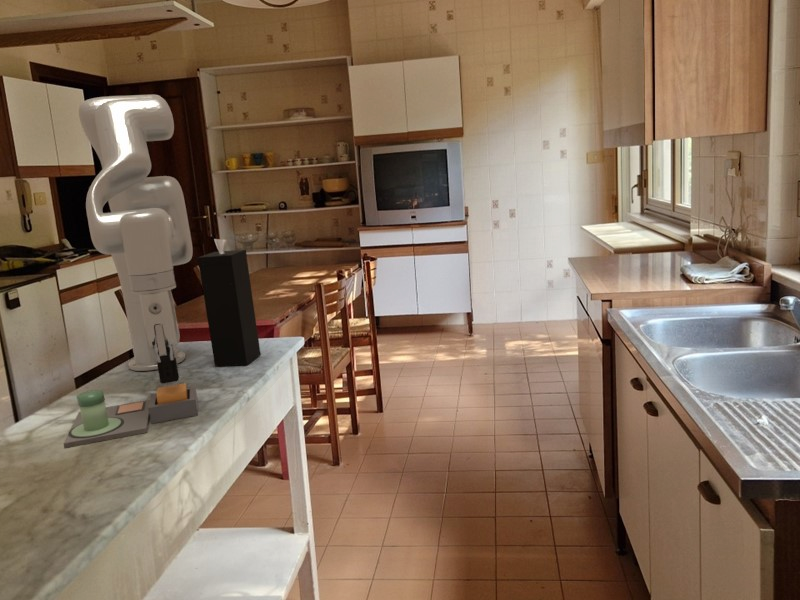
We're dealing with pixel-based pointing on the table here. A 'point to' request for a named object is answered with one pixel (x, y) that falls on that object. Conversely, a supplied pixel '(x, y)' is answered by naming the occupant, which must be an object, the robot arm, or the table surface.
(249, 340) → the tissue box
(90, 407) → the green capped cylinder
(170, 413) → the button housing
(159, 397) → the button
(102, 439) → the colouring board
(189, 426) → the table surface
